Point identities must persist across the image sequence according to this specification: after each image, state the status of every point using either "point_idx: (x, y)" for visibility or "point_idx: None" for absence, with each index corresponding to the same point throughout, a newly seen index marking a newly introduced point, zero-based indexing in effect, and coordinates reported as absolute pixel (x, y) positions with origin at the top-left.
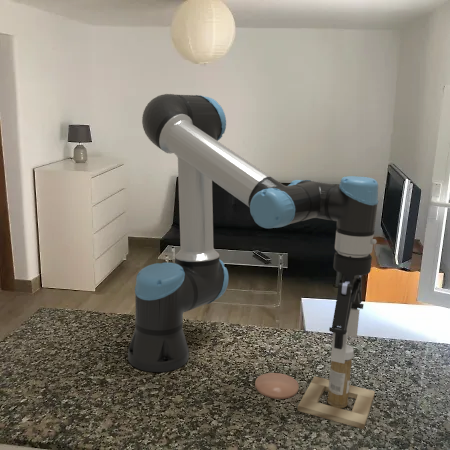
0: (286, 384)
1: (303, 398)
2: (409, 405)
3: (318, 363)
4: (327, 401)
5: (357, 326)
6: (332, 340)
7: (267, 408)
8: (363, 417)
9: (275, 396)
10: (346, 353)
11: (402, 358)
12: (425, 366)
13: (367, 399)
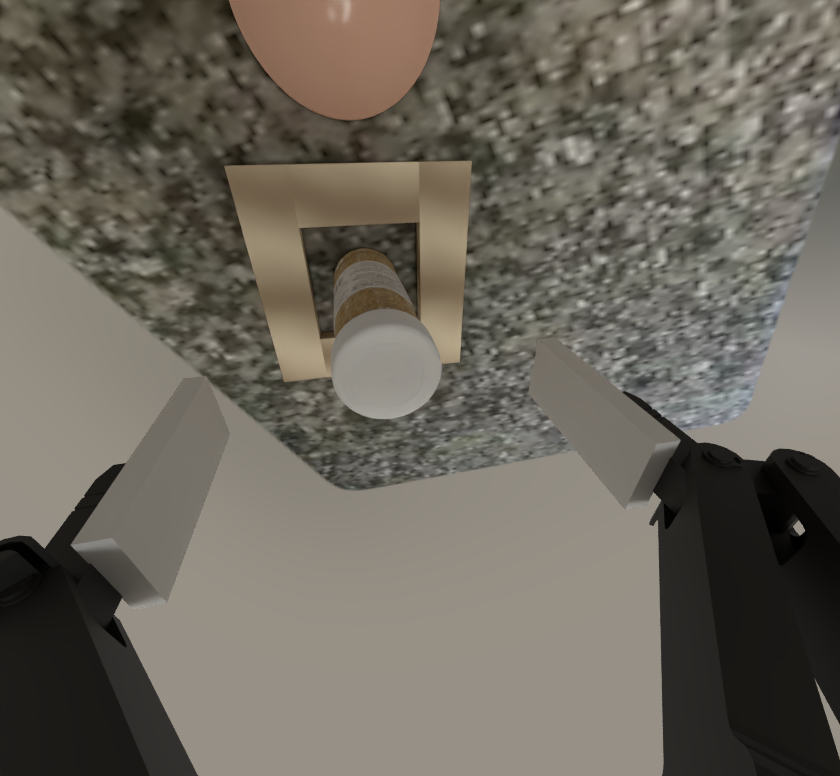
0: (359, 45)
1: (288, 171)
2: (450, 422)
3: (598, 135)
4: (348, 253)
5: (560, 430)
6: (122, 469)
7: (137, 12)
8: (313, 371)
9: (237, 21)
10: (345, 403)
11: (666, 364)
12: None
13: None
